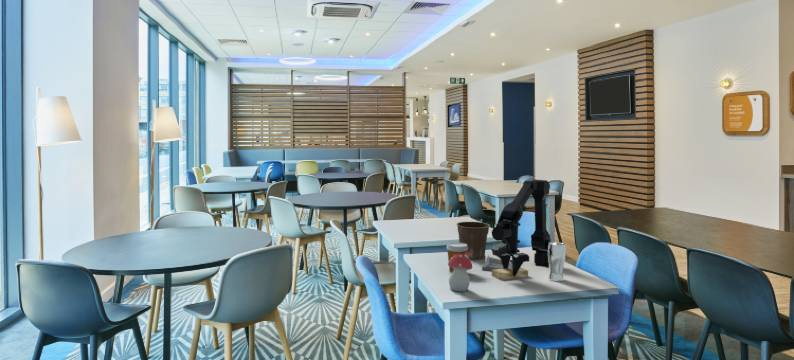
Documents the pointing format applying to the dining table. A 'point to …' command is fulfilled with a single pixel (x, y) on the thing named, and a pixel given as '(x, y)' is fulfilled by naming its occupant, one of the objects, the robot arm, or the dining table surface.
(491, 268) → the peg stand
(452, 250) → the lidded amber jar
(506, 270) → the oak plank
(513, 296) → the dining table surface
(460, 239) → the plant pot
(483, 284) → the dining table surface
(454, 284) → the decorative ornament
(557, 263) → the beer glass
